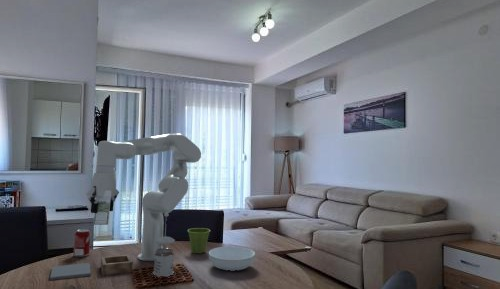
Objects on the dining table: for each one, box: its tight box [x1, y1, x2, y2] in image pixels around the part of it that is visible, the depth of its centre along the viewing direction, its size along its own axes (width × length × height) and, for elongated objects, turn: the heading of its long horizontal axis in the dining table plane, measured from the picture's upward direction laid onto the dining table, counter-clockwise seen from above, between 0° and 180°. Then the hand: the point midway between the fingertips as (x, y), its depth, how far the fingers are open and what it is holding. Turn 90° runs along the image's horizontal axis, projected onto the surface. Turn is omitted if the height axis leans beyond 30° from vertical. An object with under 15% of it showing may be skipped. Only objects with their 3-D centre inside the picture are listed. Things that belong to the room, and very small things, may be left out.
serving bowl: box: [208, 246, 256, 272], centre depth 150 cm, size 21×21×7 cm
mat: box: [49, 262, 92, 281], centre depth 136 cm, size 14×14×1 cm
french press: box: [152, 213, 176, 276], centre depth 140 cm, size 10×12×25 cm
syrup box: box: [92, 190, 111, 226], centre depth 141 cm, size 6×6×14 cm
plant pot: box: [187, 227, 211, 254], centre depth 173 cm, size 12×12×11 cm
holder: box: [100, 254, 134, 276], centre depth 142 cm, size 11×11×4 cm
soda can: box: [73, 228, 92, 258], centre depth 159 cm, size 7×7×12 cm
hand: (102, 211), depth 140 cm, fingers closed on syrup box, 7 cm apart
